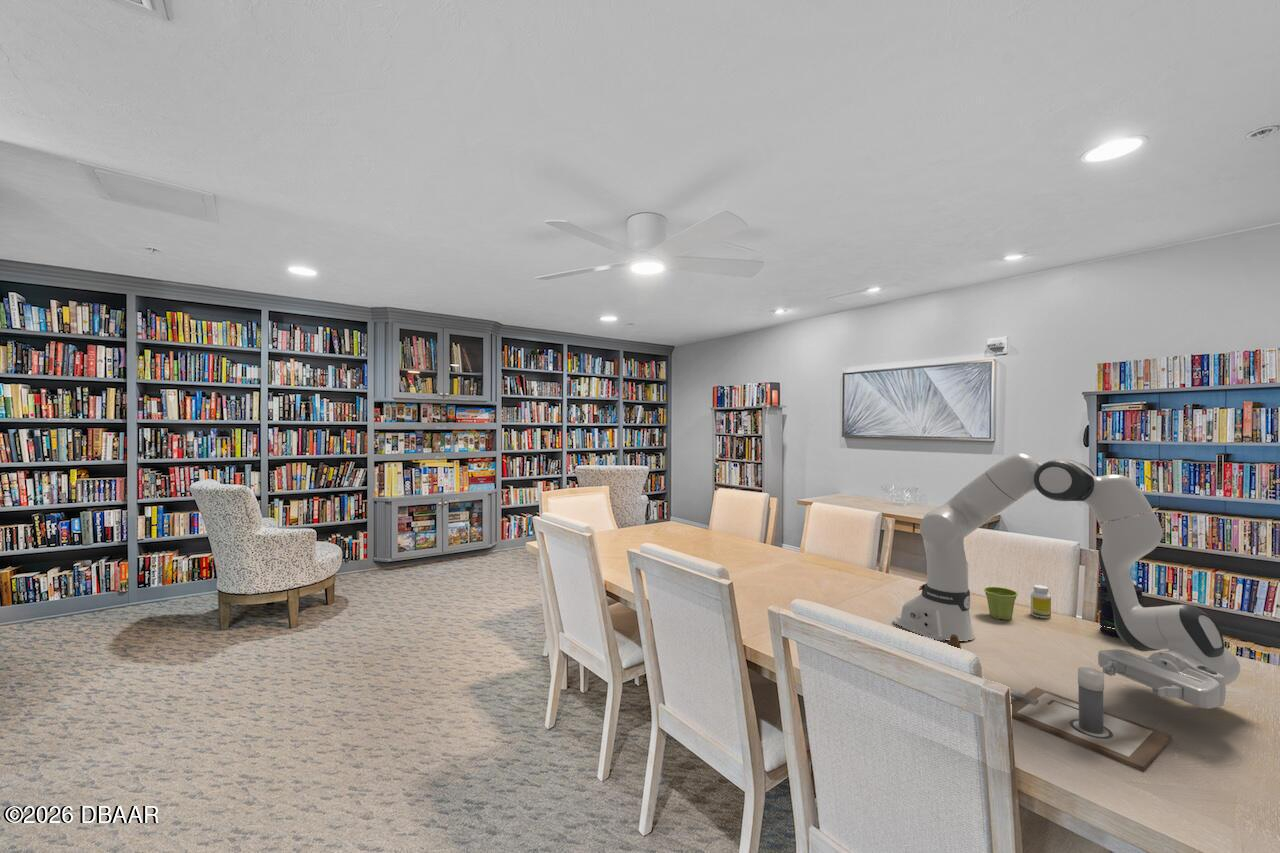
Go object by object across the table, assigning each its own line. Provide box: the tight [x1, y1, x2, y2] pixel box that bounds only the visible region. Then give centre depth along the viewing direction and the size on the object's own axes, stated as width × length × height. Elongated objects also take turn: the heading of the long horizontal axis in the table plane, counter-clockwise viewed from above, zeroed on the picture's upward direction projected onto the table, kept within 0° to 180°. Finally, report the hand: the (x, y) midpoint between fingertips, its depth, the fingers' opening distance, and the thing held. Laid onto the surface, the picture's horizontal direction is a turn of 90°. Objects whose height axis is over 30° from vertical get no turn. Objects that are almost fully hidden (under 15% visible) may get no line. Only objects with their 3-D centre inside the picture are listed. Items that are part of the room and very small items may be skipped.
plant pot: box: [983, 586, 1019, 621], centre depth 178 cm, size 9×9×9 cm
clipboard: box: [1010, 686, 1173, 772], centre depth 116 cm, size 26×18×2 cm
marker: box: [1077, 666, 1105, 734], centre depth 112 cm, size 4×4×12 cm
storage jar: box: [1098, 580, 1144, 640], centre depth 163 cm, size 10×10×15 cm
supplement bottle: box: [1030, 584, 1052, 619], centre depth 179 cm, size 5×5×10 cm
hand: (1130, 680), depth 116 cm, fingers open, 8 cm apart
